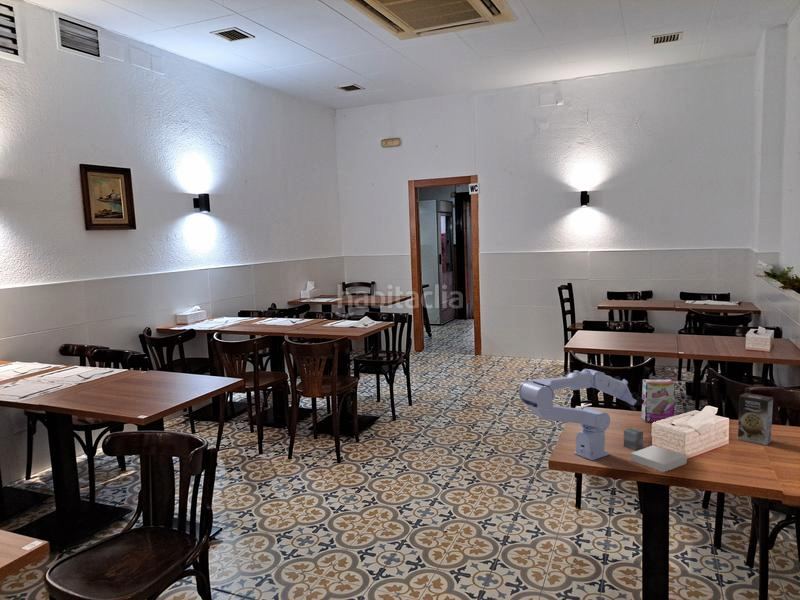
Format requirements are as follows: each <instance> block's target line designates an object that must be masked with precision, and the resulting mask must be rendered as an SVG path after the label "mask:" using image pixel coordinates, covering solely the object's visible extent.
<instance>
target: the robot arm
mask: <svg viewBox="0 0 800 600" xmlns="http://www.w3.org/2000/svg"><path fill="white" fill-rule="evenodd" d="M628 384H629V382H628V380H626V379H625V378H623V379H622V377H620V376H619V375H616V376H614V377H612V376H610V375H606V373H605V372H603V371H602V372H601V371H598V370H594V369H590V368H589V369H588V368H584V369H582V370H581V371H579V370H573V372H569V373H568V374H567V375H566V376H564V377H550V378H549V377H548V378H534V379H531V380H525V381H523V382H521V383H520V385H519V387H518V397H519V399H520V401H521V402H522V404H524V405H525V406H527V407H528V409H529V410H530V411H531V412H532V413H533V414H534V415H535V416H536V417H537V418H540V419H543V420H548V421H549V420H550V421H555V422H556V421H557V422H564V423H571V424H572V423H573V424H580V427H581V430H580V431H578V432H577V434H576V435H575V451H574V452H573V454H575V455H578V456H580V457H582V458H585V459H587V460H590V461H594V460H598V459H601V458H604V457H607V456H609V455H611V452H610V451H606V450H605V448H606V444H605V442H606V441H605V440H606V436H605V435H606V434H605V433H606V431H607V429H609V426H610V424H611V417H610V415H609V413H607V412H604V411H601V410H597V409H594V408H592V407H589V406H587V405H584V406H581V407H575V408H574V407H569V406H561V405H555V404H554V400H553V398H554V397H555V391H558V390H563V389H567V388H569V389H570V390H572V391H578V390H584V389H590V388H593V389H596V390H598V391H600V392H603V393H604V394H608V395H610V396H613V397H614V398H616V399H619V400H621V401H623V402H624V405H625V406H626V407H627V408H632V407H634V406H642V404H643V403H644V400H643V399H642V397H640V395H639V393H637V392H636V391H634V392H633V393H632V394H631V392H630V390H631V387H630V386H629V385H628Z"/></svg>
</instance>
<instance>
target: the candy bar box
mask: <svg viewBox="0 0 800 600" xmlns="http://www.w3.org/2000/svg"><path fill="white" fill-rule="evenodd" d="M675 388H676V381H673V380H672V379H642V391H641V393H642V394H641V398H642V399H643V400H644V403H643V404H642V405H641V420H643V422H645V423H655V422H654V421H657V420H661V419H665V418H667V417H669V416H673V415H674V416H675V400H676V399H675V396H676V394H675V393H676V389H675Z"/></svg>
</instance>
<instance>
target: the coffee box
mask: <svg viewBox="0 0 800 600" xmlns="http://www.w3.org/2000/svg"><path fill="white" fill-rule="evenodd" d="M738 397H739V398H738V399H739V400H738V405H739V406H738V422H737V423H738V424H737V428H738V429H737V440H740V441H745V442H749V443H754V444H757V445H761V446H762V445H763V446H768V444H770V443H771V442H772V430H773V429H772V427H773V426H772V425H773V424H772V423H773V406H774V397H772V396H765V395H762V394H761V395H759V394H754V393H750V392H744V393H743V394H740V395H739V396H738Z"/></svg>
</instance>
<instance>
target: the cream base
mask: <svg viewBox="0 0 800 600" xmlns="http://www.w3.org/2000/svg"><path fill="white" fill-rule="evenodd" d="M687 458H688V456H687V455H685V454H681V453H679V452H676V451H672V450H670V449H666V448H663V447H660V446H656V445H653V444H652V445H650V446H647V447H643V448H640V449H638V450H634V451H633V452H631V453H630V461H631V462H634V463H637V464H640V465H643V466H646V467H649V468H650V469H653V470H656V471H659V472H661V473H666V472H668V470H669V471H672V470H674V469H675V468H679V467H681V466H684V465H686V464H687V460H688V459H687ZM665 471H666V472H665Z"/></svg>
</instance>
